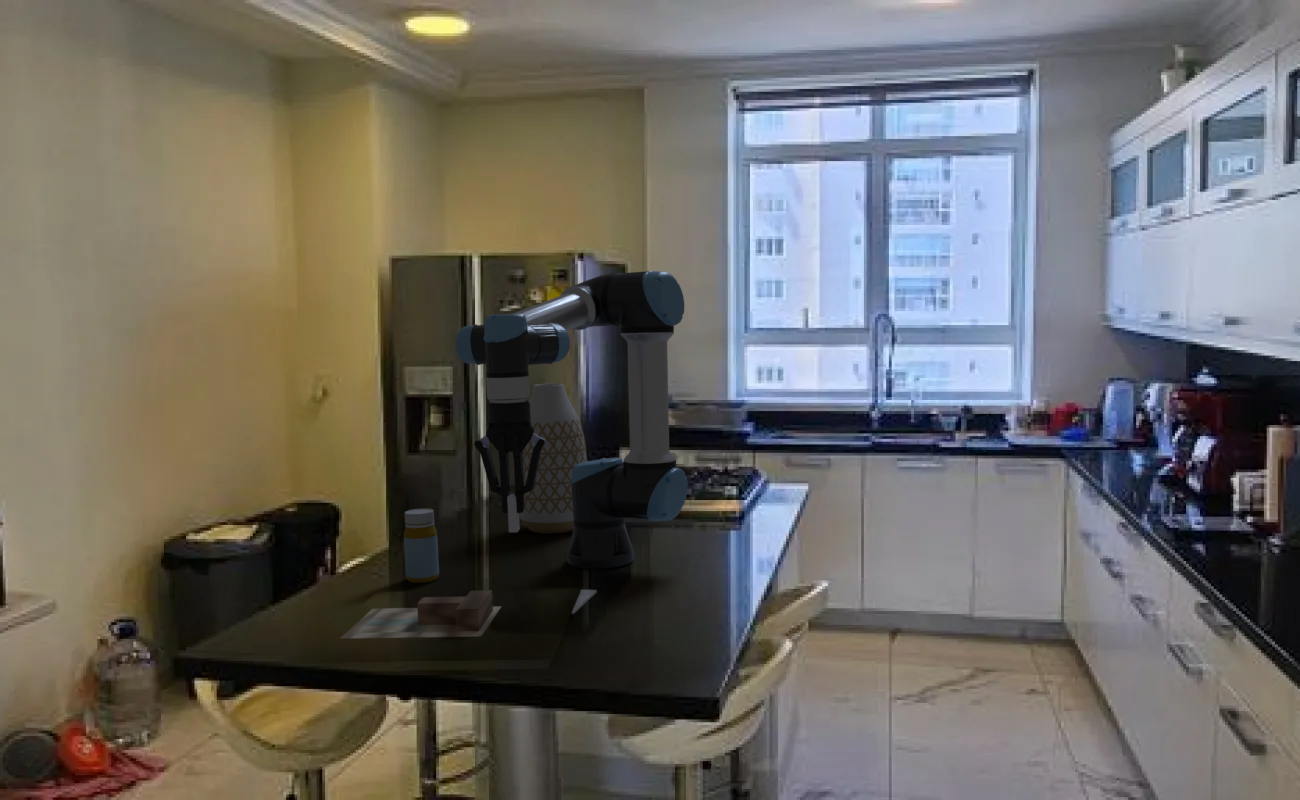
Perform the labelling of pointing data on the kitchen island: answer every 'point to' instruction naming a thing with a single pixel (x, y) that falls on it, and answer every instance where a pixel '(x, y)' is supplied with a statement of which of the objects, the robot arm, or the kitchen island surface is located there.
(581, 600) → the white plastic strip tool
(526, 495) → the vase
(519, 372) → the robot arm
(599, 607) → the kitchen island surface
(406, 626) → the board
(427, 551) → the bottle
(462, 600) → the t block
